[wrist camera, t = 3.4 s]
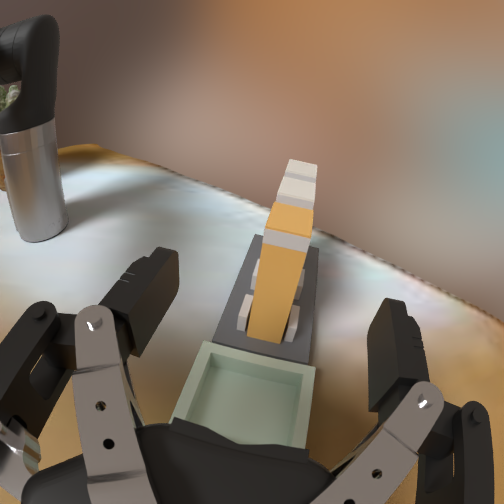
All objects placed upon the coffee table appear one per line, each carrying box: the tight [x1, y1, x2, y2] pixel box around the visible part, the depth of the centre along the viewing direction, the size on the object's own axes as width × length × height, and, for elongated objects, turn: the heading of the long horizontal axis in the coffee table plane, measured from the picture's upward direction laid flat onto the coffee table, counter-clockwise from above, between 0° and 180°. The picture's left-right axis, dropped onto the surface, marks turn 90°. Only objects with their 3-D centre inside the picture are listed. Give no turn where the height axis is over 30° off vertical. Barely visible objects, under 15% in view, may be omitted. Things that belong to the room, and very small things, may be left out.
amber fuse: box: [247, 202, 314, 344], centre depth 26 cm, size 3×4×12 cm
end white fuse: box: [285, 159, 317, 183], centre depth 36 cm, size 3×4×12 cm
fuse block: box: [212, 234, 319, 365], centre depth 34 cm, size 9×19×4 cm, turn 168°
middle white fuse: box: [276, 177, 316, 210], centre depth 31 cm, size 3×4×12 cm
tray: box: [168, 340, 316, 449], centre depth 22 cm, size 10×10×3 cm
